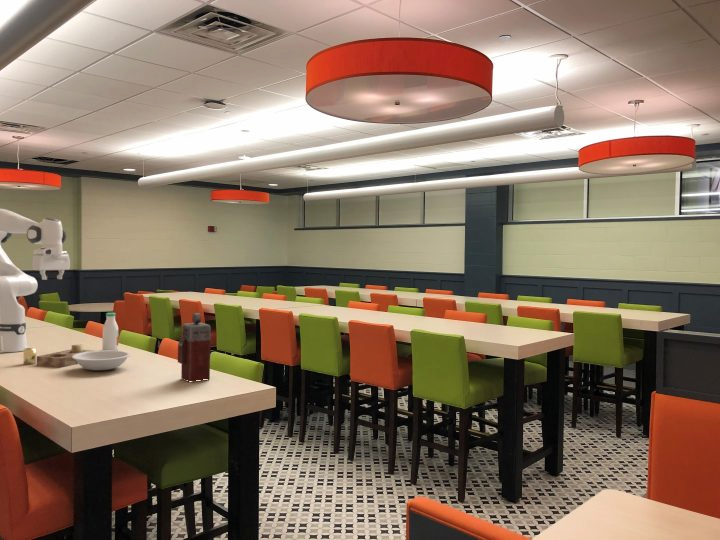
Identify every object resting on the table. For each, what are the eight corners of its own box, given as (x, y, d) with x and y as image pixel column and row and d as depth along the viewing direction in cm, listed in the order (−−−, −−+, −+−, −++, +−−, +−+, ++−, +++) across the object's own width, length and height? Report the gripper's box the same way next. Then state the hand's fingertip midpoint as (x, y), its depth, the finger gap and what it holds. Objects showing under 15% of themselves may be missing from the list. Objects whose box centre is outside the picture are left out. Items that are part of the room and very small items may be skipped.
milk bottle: (114, 351, 296) (114, 313, 296) (99, 351, 297) (100, 313, 296) (120, 349, 304) (121, 312, 304) (106, 348, 304) (107, 312, 304)
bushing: (20, 364, 258) (20, 349, 258) (29, 362, 263) (30, 347, 263) (29, 365, 257) (29, 349, 257) (38, 363, 262) (38, 348, 262)
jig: (36, 365, 258) (36, 349, 258) (73, 357, 279) (73, 342, 279) (61, 367, 254) (62, 351, 254) (96, 359, 275) (96, 344, 275)
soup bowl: (59, 370, 247) (59, 355, 247) (106, 362, 268) (107, 348, 268) (96, 377, 236) (96, 362, 236) (142, 368, 257) (142, 353, 257)
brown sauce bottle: (175, 379, 236) (176, 312, 235) (201, 376, 243) (202, 311, 243) (184, 383, 229) (185, 314, 229) (209, 380, 236) (211, 313, 236)
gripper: (63, 251, 286) (63, 278, 286) (30, 250, 266) (30, 279, 267) (73, 251, 284) (73, 278, 285) (41, 250, 265) (41, 280, 265)
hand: (52, 279), depth 275 cm, fingers open, 8 cm apart
